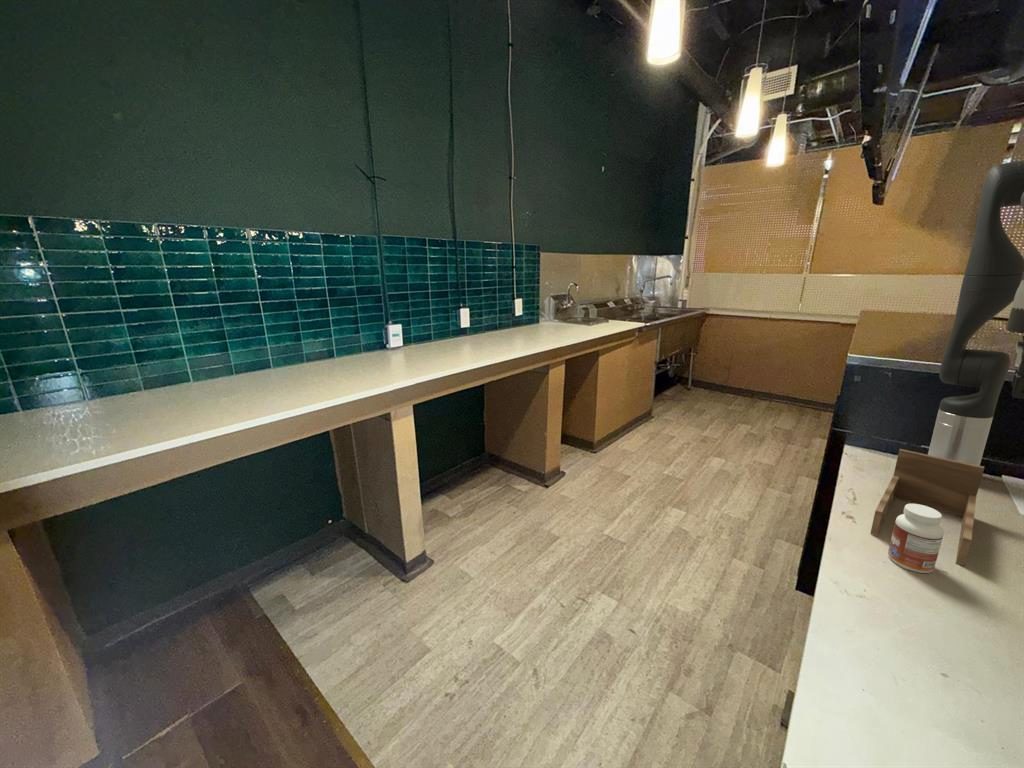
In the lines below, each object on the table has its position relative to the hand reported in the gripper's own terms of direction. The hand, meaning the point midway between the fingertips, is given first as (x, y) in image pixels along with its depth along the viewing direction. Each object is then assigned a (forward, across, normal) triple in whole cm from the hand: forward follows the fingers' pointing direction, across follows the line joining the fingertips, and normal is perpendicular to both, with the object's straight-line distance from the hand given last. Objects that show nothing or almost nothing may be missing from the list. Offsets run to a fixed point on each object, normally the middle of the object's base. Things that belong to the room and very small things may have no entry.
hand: (1020, 393), depth 74 cm
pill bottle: (+30, +23, -8) cm, 38 cm away
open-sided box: (+30, +6, -8) cm, 31 cm away
